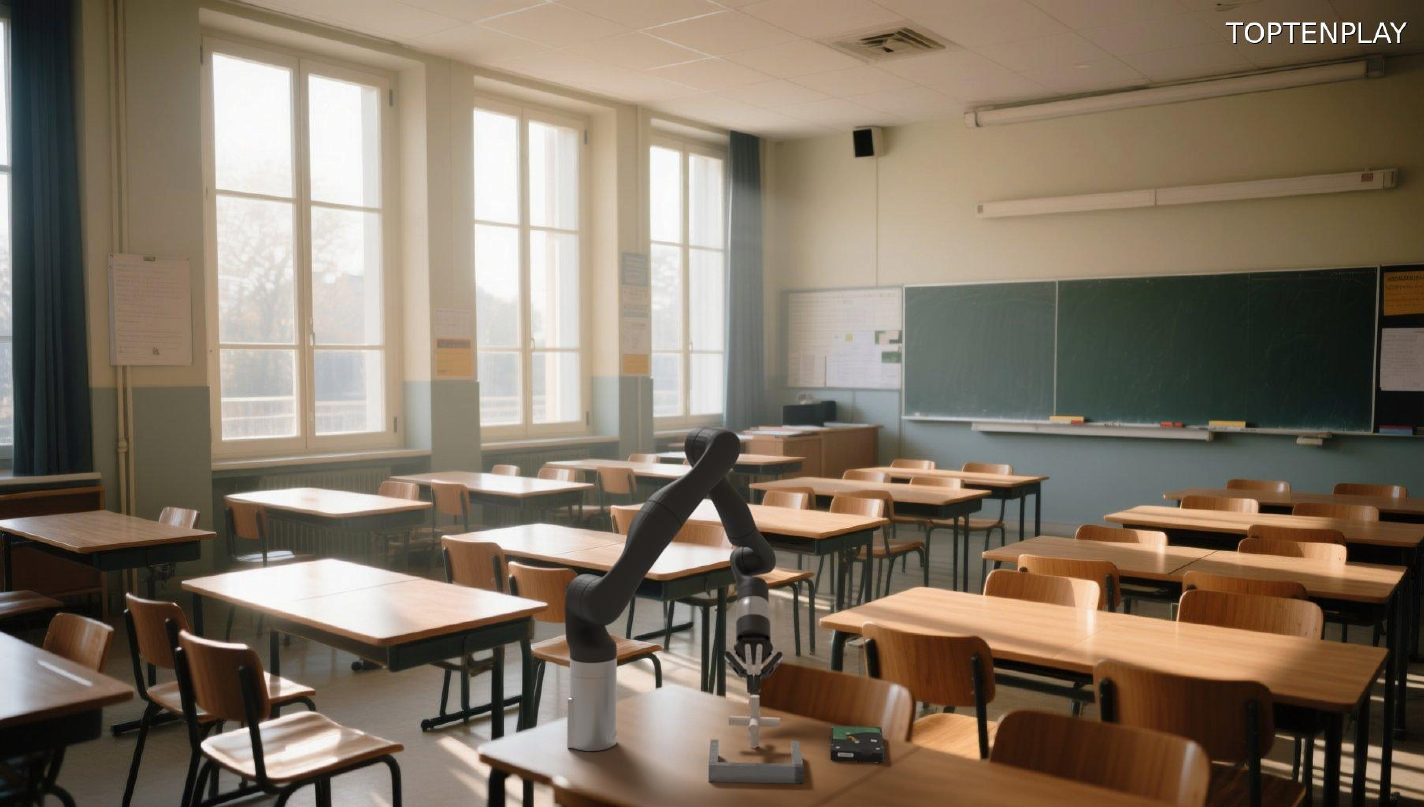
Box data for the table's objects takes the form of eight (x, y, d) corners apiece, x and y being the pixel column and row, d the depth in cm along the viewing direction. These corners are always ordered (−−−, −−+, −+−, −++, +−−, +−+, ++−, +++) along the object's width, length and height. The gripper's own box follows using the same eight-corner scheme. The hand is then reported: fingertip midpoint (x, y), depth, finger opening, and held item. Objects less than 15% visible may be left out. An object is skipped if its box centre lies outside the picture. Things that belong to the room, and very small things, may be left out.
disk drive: (885, 767, 191) (881, 739, 206) (885, 752, 191) (881, 726, 206) (830, 764, 192) (830, 737, 207) (830, 749, 192) (830, 723, 207)
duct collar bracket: (708, 781, 181) (708, 765, 181) (710, 755, 195) (710, 739, 195) (803, 783, 181) (803, 767, 181) (798, 756, 194) (799, 741, 194)
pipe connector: (780, 739, 204) (780, 689, 204) (778, 757, 194) (779, 705, 194) (731, 737, 205) (731, 688, 205) (726, 754, 195) (727, 703, 195)
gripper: (722, 612, 220) (721, 685, 208) (783, 613, 220) (786, 685, 208) (723, 631, 226) (722, 702, 213) (782, 631, 225) (784, 703, 213)
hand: (753, 694), depth 211 cm, fingers closed
